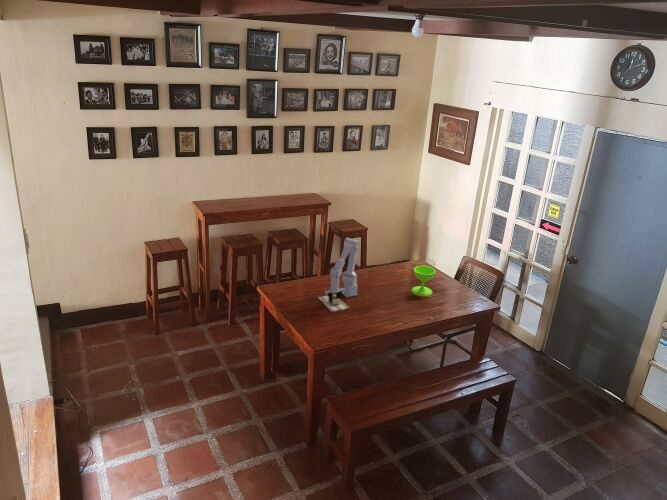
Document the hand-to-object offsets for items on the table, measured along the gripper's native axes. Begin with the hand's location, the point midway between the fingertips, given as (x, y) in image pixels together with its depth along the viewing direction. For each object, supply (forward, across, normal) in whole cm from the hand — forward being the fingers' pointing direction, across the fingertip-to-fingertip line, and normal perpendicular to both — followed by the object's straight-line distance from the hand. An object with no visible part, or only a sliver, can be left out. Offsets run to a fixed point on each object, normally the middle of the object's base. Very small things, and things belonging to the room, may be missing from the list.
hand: (334, 301), depth 376 cm
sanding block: (+1, 0, -1) cm, 1 cm away
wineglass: (+2, -72, +7) cm, 72 cm away
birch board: (+2, 0, -1) cm, 2 cm away
